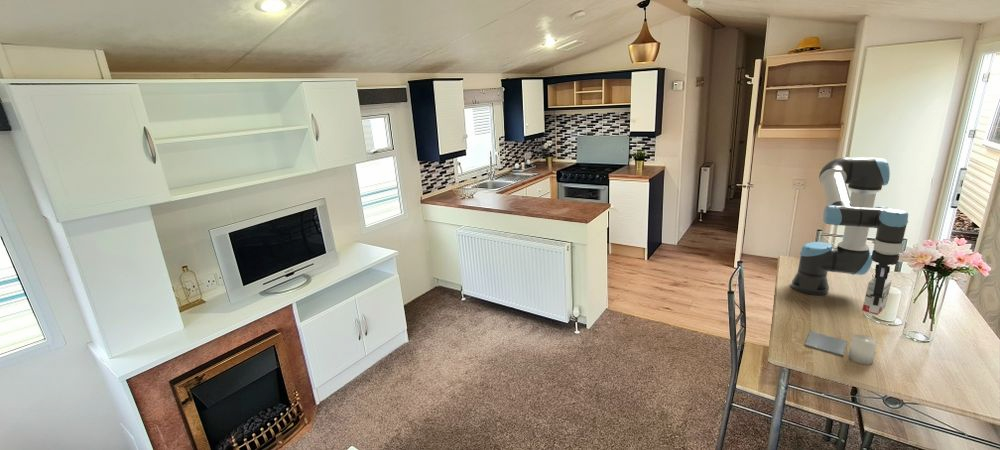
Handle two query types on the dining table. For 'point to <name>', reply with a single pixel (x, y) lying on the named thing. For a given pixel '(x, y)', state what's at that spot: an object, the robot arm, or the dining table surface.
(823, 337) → the slate tile
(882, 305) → the ink box
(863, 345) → the white rounded cylinder
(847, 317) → the dining table surface
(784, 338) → the dining table surface
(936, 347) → the dining table surface
